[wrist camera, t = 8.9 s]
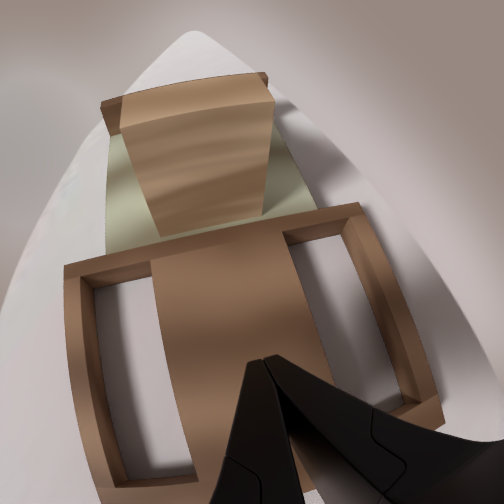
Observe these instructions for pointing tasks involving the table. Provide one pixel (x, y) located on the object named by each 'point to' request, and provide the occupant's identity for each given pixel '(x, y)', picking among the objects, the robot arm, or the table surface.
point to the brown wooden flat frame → (223, 315)
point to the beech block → (200, 150)
